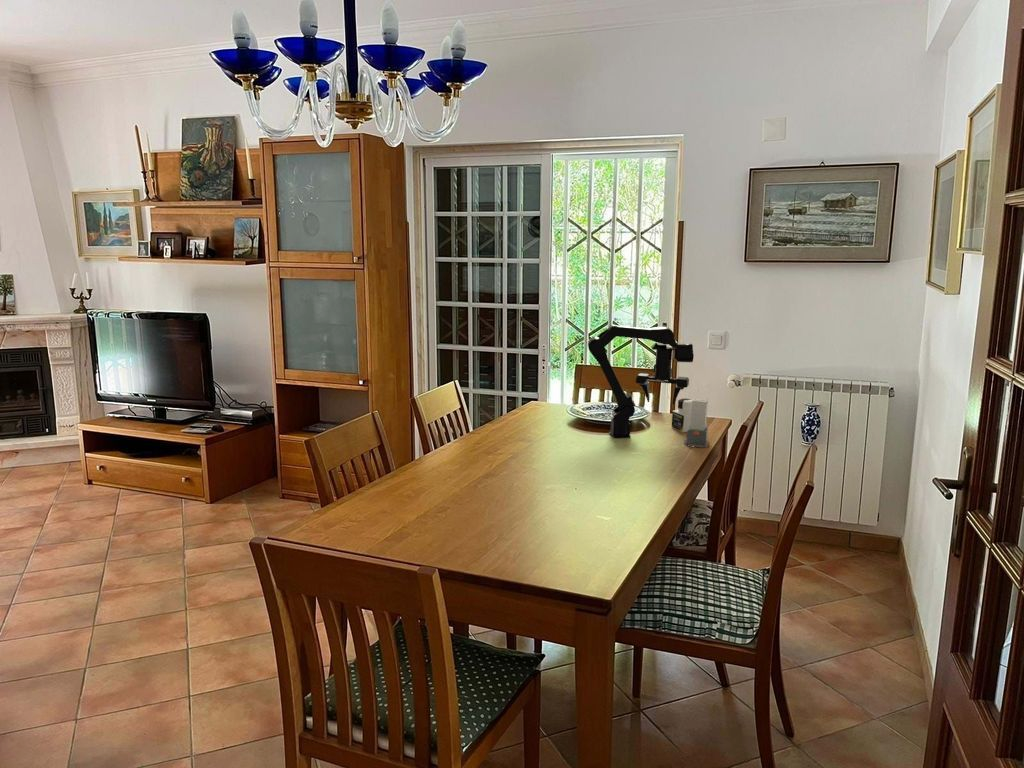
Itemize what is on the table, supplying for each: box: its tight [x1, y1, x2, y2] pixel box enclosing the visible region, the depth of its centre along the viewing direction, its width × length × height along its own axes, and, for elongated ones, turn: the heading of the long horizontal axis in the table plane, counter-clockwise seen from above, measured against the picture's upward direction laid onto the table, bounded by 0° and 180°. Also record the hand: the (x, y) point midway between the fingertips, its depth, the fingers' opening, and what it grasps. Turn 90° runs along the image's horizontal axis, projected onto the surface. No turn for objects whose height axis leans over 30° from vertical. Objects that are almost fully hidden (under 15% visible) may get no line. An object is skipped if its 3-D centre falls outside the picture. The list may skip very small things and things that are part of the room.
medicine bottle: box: [671, 398, 693, 433], centre depth 286 cm, size 7×7×12 cm
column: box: [690, 397, 709, 432], centre depth 266 cm, size 5×5×12 cm
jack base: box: [683, 426, 711, 448], centre depth 268 cm, size 9×9×6 cm
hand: (660, 403), depth 274 cm, fingers open, 9 cm apart
